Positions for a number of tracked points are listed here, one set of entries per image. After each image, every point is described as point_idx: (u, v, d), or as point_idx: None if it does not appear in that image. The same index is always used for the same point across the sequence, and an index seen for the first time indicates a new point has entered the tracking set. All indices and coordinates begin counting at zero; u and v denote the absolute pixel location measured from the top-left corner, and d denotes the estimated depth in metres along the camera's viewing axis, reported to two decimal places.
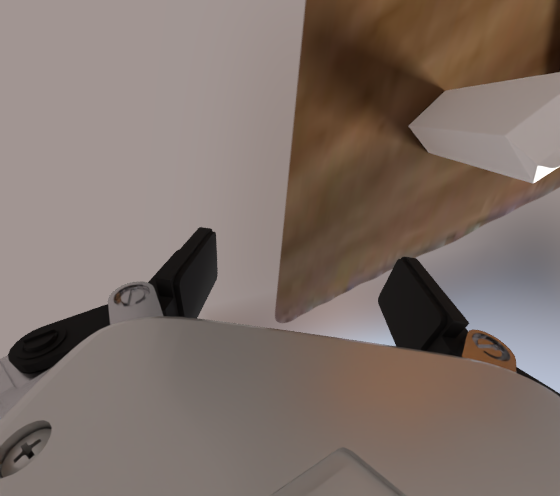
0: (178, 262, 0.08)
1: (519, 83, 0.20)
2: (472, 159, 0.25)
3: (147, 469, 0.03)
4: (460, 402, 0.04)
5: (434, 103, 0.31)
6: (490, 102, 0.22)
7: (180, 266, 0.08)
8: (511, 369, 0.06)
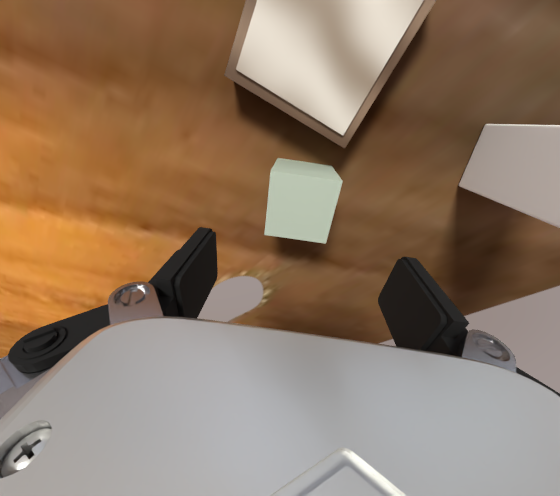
0: (178, 262, 0.08)
1: None
2: None
3: (147, 469, 0.03)
4: (460, 402, 0.04)
5: None
6: None
7: (180, 266, 0.08)
8: (511, 369, 0.06)
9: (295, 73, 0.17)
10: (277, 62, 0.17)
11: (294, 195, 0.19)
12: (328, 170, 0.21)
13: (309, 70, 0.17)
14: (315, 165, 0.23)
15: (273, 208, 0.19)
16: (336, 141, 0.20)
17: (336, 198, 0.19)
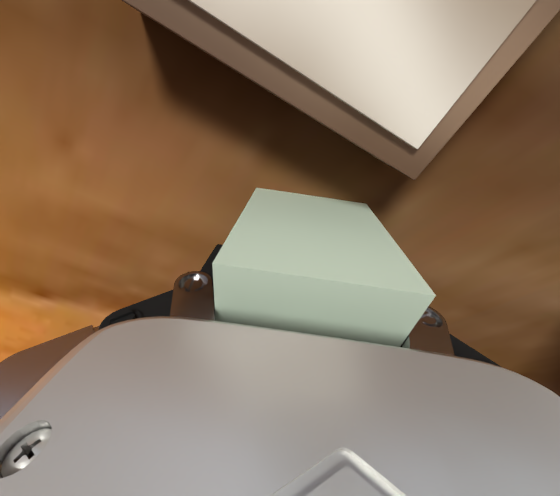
0: None
1: None
2: None
3: (147, 469, 0.03)
4: (460, 402, 0.04)
5: None
6: None
7: None
8: (445, 333, 0.07)
9: None
10: None
11: (288, 319, 0.07)
12: (368, 227, 0.09)
13: None
14: (335, 207, 0.10)
15: None
16: (396, 163, 0.08)
17: (405, 330, 0.07)
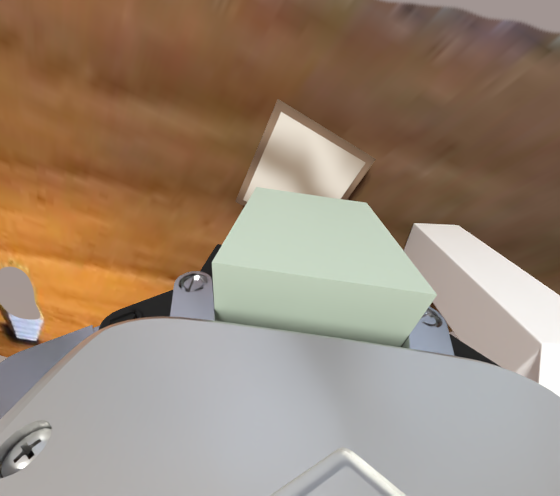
0: None
1: None
2: None
3: (147, 469, 0.03)
4: (460, 402, 0.04)
5: None
6: None
7: None
8: (445, 333, 0.07)
9: None
10: None
11: (288, 318, 0.07)
12: (369, 226, 0.09)
13: None
14: (335, 207, 0.10)
15: None
16: None
17: (406, 329, 0.06)
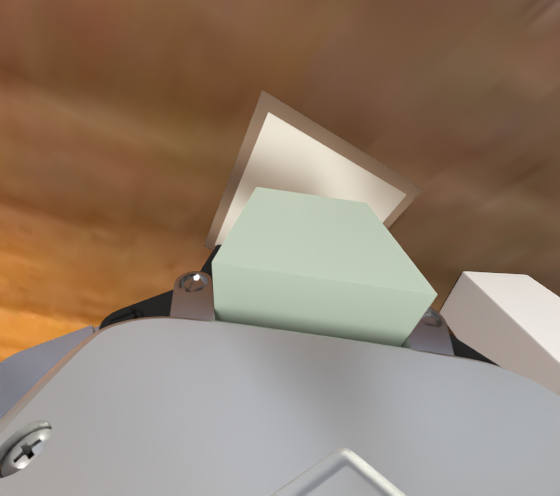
0: None
1: None
2: None
3: (147, 469, 0.03)
4: (460, 402, 0.04)
5: None
6: None
7: None
8: (445, 333, 0.07)
9: None
10: None
11: (289, 318, 0.07)
12: (369, 226, 0.09)
13: None
14: (335, 206, 0.10)
15: None
16: None
17: (407, 330, 0.06)
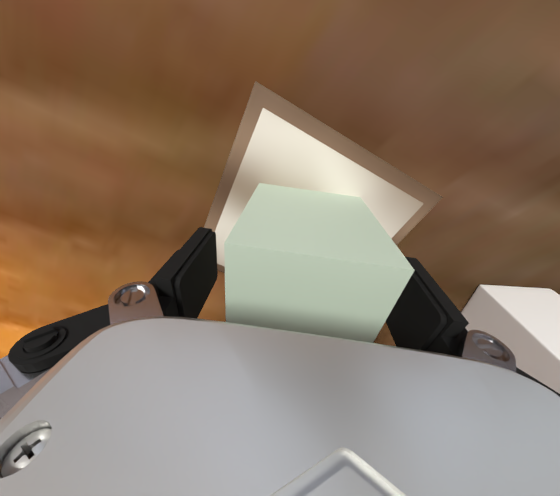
0: (178, 262, 0.08)
1: None
2: None
3: (147, 469, 0.03)
4: (460, 402, 0.04)
5: None
6: None
7: (180, 266, 0.08)
8: (511, 369, 0.06)
9: None
10: None
11: (289, 293, 0.08)
12: (361, 216, 0.10)
13: None
14: (331, 200, 0.11)
15: (239, 315, 0.08)
16: None
17: (390, 303, 0.08)
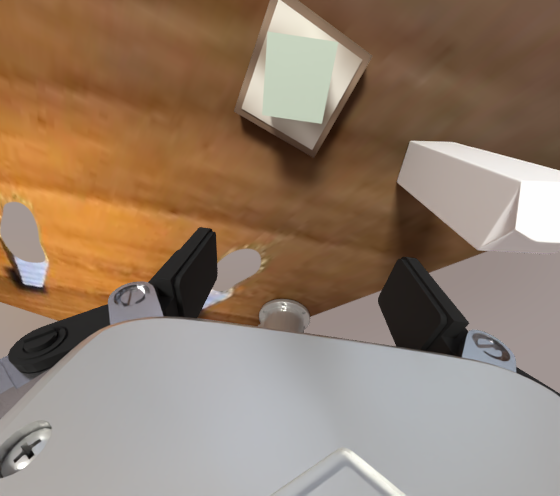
0: (178, 262, 0.08)
1: None
2: None
3: (147, 469, 0.03)
4: (460, 402, 0.04)
5: None
6: None
7: (180, 266, 0.08)
8: (511, 369, 0.06)
9: None
10: None
11: (291, 62, 0.19)
12: None
13: None
14: None
15: (270, 80, 0.20)
16: (308, 153, 0.30)
17: (331, 65, 0.19)
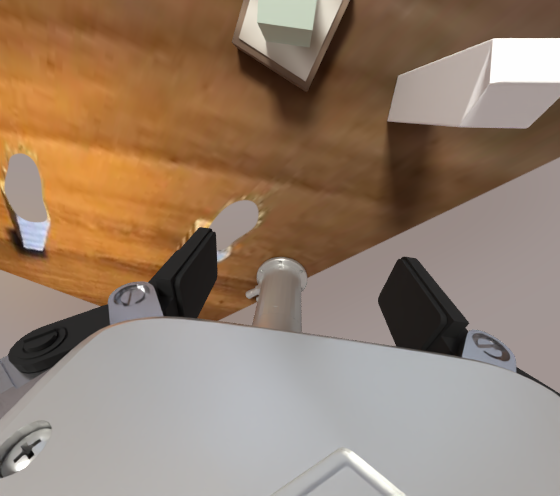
0: (178, 262, 0.08)
1: None
2: None
3: (147, 469, 0.03)
4: (460, 402, 0.04)
5: None
6: None
7: (180, 266, 0.08)
8: (511, 369, 0.06)
9: None
10: None
11: None
12: None
13: None
14: None
15: None
16: (302, 85, 0.31)
17: None
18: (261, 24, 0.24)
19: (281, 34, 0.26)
